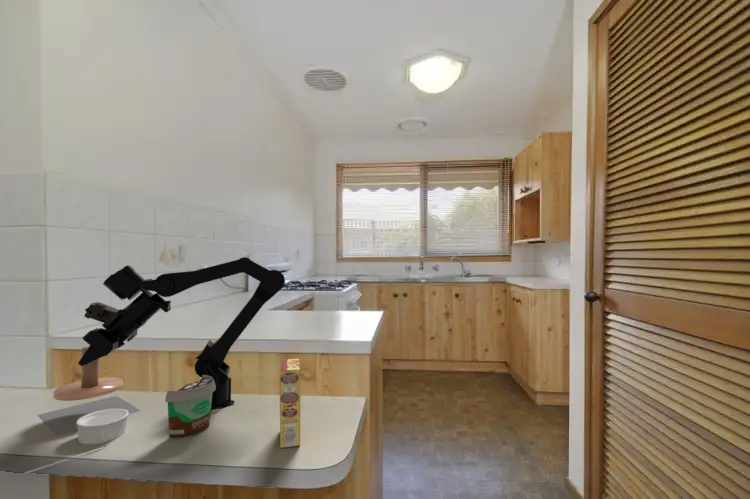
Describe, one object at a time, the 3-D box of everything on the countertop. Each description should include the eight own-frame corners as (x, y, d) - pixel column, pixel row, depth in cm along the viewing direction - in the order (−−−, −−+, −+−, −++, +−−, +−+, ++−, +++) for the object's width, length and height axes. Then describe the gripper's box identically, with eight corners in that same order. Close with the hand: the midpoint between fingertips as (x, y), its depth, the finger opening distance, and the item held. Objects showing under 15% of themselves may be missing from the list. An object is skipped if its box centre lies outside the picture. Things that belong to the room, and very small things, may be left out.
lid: (109, 378, 97) (109, 339, 97) (132, 387, 90) (133, 345, 90) (44, 393, 86) (45, 349, 86) (65, 405, 79) (66, 357, 79)
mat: (116, 397, 101) (116, 395, 101) (140, 411, 91) (140, 410, 91) (37, 416, 88) (37, 414, 88) (55, 436, 78) (55, 434, 78)
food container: (190, 444, 75) (191, 394, 75) (164, 441, 76) (165, 391, 77) (226, 418, 87) (227, 375, 88) (203, 416, 88) (204, 374, 89)
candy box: (300, 446, 74) (301, 369, 75) (278, 449, 73) (279, 370, 74) (299, 427, 83) (300, 357, 83) (280, 429, 82) (280, 359, 82)
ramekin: (118, 424, 84) (118, 405, 84) (135, 435, 79) (136, 414, 79) (69, 439, 77) (69, 418, 77) (84, 452, 72) (85, 430, 72)
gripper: (124, 287, 98) (73, 332, 95) (94, 293, 81) (30, 349, 77) (157, 316, 101) (108, 360, 97) (136, 328, 83) (75, 383, 79)
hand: (83, 362), depth 87 cm, fingers closed on lid, 3 cm apart
